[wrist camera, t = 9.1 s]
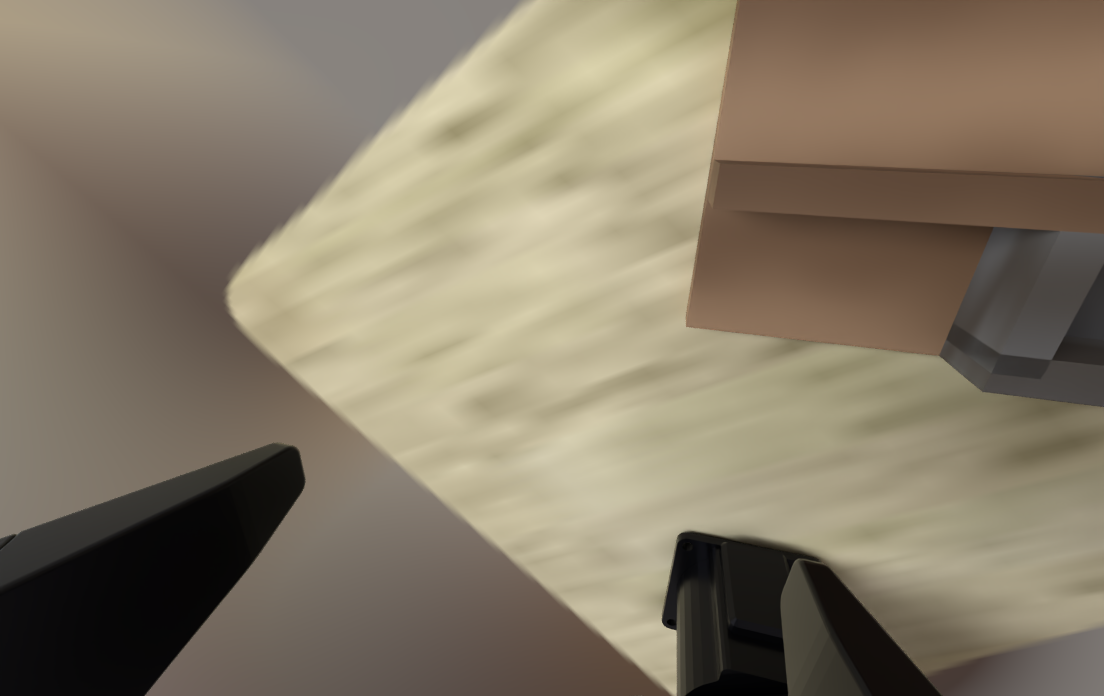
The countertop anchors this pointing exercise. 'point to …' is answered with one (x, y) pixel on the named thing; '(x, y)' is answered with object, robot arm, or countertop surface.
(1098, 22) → the trap lane
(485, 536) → the countertop surface
